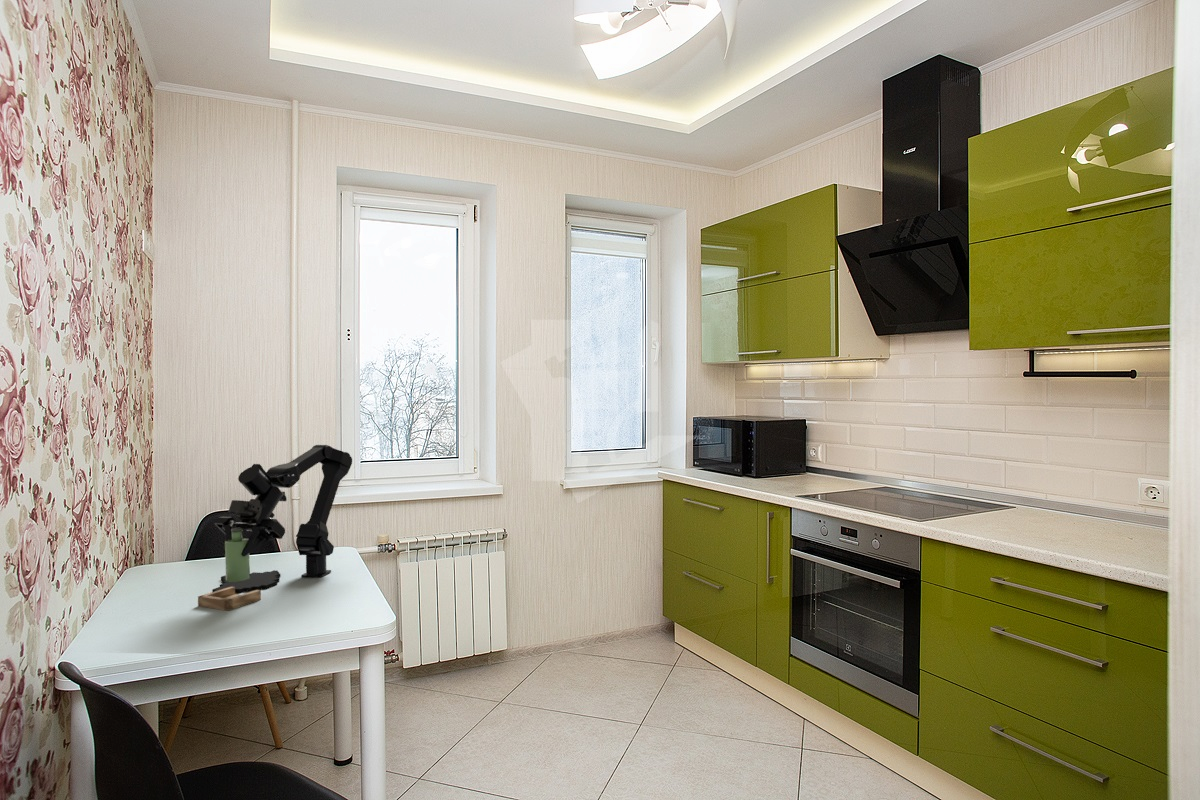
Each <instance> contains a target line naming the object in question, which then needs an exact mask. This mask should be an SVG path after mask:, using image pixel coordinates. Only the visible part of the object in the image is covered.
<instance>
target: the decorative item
mask: <svg viewBox="0 0 1200 800" xmlns="http://www.w3.org/2000/svg"><path fill="white" fill-rule="evenodd" d="M280 578H281V573H280V572H279V570H275V569H274V570H272V571H263V572H250V578H249V579H247V580H243V581H237V582H228V581H226V575H221V576H220V581H221V584H219V586H218V587H215V588H213V589H212V591H211V593H212V592H215V591H218V590H222V589H225V588H228V587H235V594H243V593H248V592H252V591H255V590H269V589H270V588H273V587H276V586H277V585H278V583H280Z"/></svg>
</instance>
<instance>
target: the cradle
mask: <svg viewBox="0 0 1200 800" xmlns="http://www.w3.org/2000/svg"><path fill="white" fill-rule="evenodd" d="M261 590H262V589H261ZM261 590H253V591H250V592H244V593H241V594H240V593H235V587H228V588H225V589H222V590H218V591H215V592H212V591H211V592H210V593H205V594H203V595H199V596H197V606H198V607H200V608H201V607H202V608H209V609H215V610H221V611H228V612H229V611H233V609H236V608H240V607H243V606H246V605H249V604H251V603H255V602H258V601H260V600H262V596H261V595H262V594H261V593H262V591H261Z"/></svg>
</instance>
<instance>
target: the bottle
mask: <svg viewBox="0 0 1200 800" xmlns="http://www.w3.org/2000/svg"><path fill="white" fill-rule="evenodd" d="M243 531H244V530H243V528H242V527H236V528H231V532H232V540H228V541H225V540H224V543H225V555H224V559H225V562H224V563H225V576H226V581H228V582H237V581H243V580H247V579H249V578H250V573H251V570H250V569H251V566H250V553H249V554H247V555H246V556H242V555H241V554H242V551H243V549H244V547H245V545H246V544H247V542H248V540H249V538H243Z"/></svg>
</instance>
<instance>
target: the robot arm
mask: <svg viewBox="0 0 1200 800" xmlns="http://www.w3.org/2000/svg"><path fill="white" fill-rule="evenodd" d="M317 464H321V471H322V474H323V478H322V481H321V484H320V487H319V490H318V493H317V496H316V499H315V503H314V505H313V509H312V511H311V515H310V518H309V520H308V521H307V522H306V523H300V525H299V528H298V532H297V534H296V535H295V537H296V540H295V545H296V547H297V550H298V554H299V556H305V573H303V574H301V577H302V578H322V577H325V576H326V575H328V574H330V573H331V572H332V569H327V556H331V554H333V553H334V549H335V546H334V545H333V543H331V542H330V540H329V534H330V533H329V530H328V526H327V522H328V520H329V516H330V513H331V510H332V507H333V504H334V501H335V497H336V495H337V491H338V488H339V486H340V483H341V480H342V479H343V478H345V476H347V475H348V473H349V471H350V469H351V467H352V464H353V457H352V456H351V455H350V453H349V452H347V451H342V450H341V449H340V450H339V449H338V448H333V447H332V446H330V445H329V444H316V445H313V446H312V448H310V449H309V450H307V451H305V452H303V453H302V454H301V455H299V456H298V457H296V458H295V459H292V460H291V461H289V462H287V463H282V464H278V465H274V466H272V467H270V468H269V469H268V470H267V471H266V470H265V469H264V468H263V466H262V464H260V463H253V464H252V465H251V466H250V467H248V468H246V469H244V470H243V471H241V472H240V473H239V475H238V478H237V479H238V483H240V484H241V485H242V487H244V489H245V490H246V491H247V492H248V493H249V494H250V495H252V496H255V498H251V499H249V501H248V500H240V499H239V500H236V499H233V500H231V502H230V505H229V508H228V513H229V514H235V515H237V516H236V518H237V519H238V520H241V521H239V522H238V521H237V520H236V519H235V518H234V517H232V516H219V517H217V519H216V520H215V522H214V525H215V526H216V527H217V528H218V529H219V530H220V532H222V533H223V534H224V535H225V539H224V545H223V549H222V554H223V556H225V541H228V540H232V532H231V528H236V527H242V528H243V531H247V532H249V531H250V532H251V535H250V537H249V538H248V539H249V540H248V542H247V544H246V545H245V547H244V549H243V551H242V554H241V555H242V556H246V555H247V554H249V555H250V554H251V553H252V552H254V551H255V550H256V549H258V548H260V547H262V546H263V545H264V544H266V543H267V542H269V541H270V542H271V541H273V539H276V540H277V539H279V540H281V539H283V537H284V535H285V534H286V528H285V527H284V525H282V524H281V522H280V521H279V520H278V519H277V518H274V517H275V514H274V513H273V512H274V510H275V508H276V507H277V506H278V504H279V502H287V496H286V492H285V491H282V490H281V489H280V488H283V489H284V488H285V489H289V488H292V487H294V486H295V485H296V484H297V483H298V482H299V481H300V479H301V475H302V474H304V473H305V472H306V471H308V470H310V469H311V468H313V467H314V466H316V465H317Z"/></svg>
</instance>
